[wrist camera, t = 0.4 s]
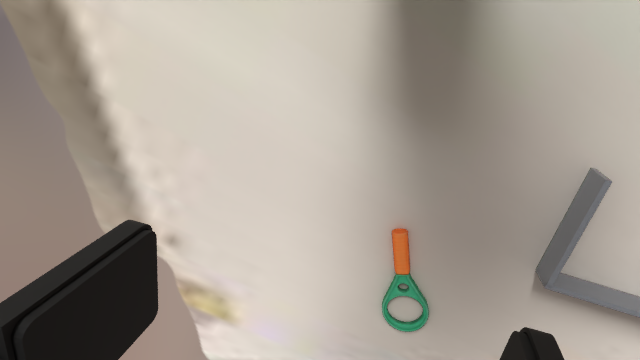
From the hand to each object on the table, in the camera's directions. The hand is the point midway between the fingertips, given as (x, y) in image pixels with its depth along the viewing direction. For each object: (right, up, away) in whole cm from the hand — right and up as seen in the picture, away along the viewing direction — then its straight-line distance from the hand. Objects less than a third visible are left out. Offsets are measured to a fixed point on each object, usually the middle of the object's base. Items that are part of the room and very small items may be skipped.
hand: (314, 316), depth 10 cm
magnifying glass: (+11, -9, +41) cm, 43 cm away
